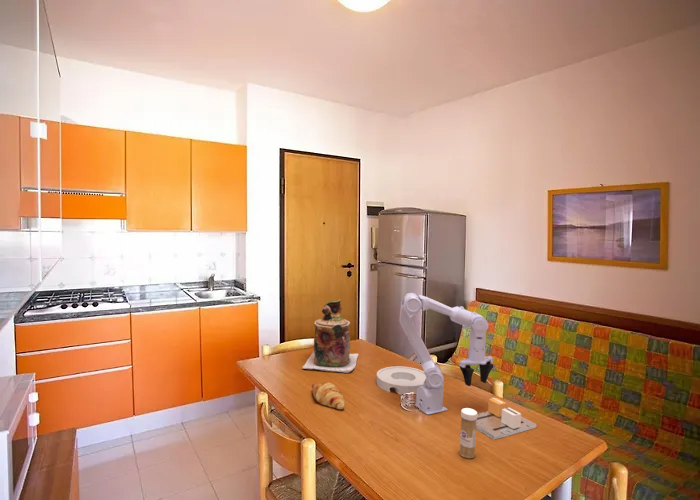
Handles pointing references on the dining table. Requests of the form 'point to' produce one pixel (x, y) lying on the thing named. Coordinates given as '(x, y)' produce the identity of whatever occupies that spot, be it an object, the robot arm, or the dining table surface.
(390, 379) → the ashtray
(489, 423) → the console
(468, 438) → the sprinkles bottle
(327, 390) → the croissant
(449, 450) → the dining table surface
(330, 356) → the cookie jar
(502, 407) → the cap
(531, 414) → the dining table surface
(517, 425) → the fader cap
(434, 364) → the robot arm
